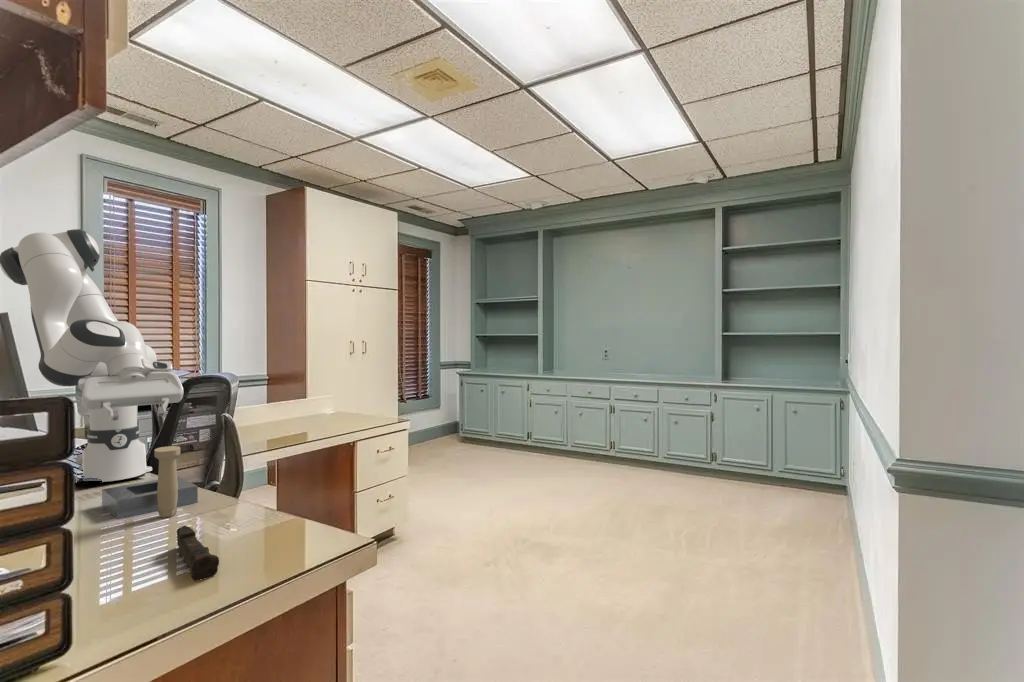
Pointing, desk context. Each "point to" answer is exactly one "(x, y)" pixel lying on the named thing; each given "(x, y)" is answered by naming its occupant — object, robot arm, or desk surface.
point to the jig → (143, 497)
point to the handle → (167, 480)
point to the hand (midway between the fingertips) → (139, 416)
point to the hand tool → (196, 554)
